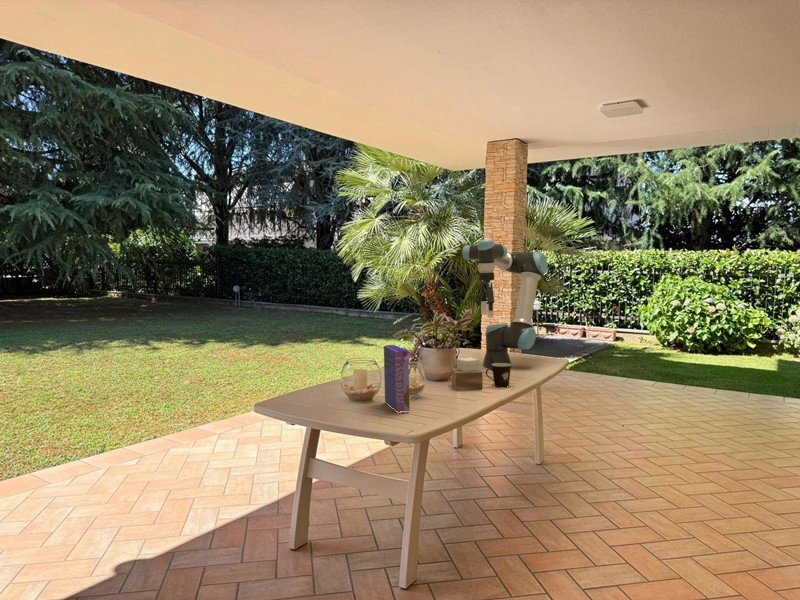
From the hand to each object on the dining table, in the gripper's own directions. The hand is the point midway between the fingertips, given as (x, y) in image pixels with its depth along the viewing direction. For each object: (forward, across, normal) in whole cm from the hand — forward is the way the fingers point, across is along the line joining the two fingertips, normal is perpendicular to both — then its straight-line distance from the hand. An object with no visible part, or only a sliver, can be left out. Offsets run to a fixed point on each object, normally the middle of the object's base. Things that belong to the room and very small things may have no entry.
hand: (487, 316), depth 270 cm
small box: (+23, +16, -13) cm, 31 cm away
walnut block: (+30, +17, -14) cm, 37 cm away
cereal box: (+30, +48, -48) cm, 74 cm away
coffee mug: (+31, +16, +1) cm, 35 cm away
